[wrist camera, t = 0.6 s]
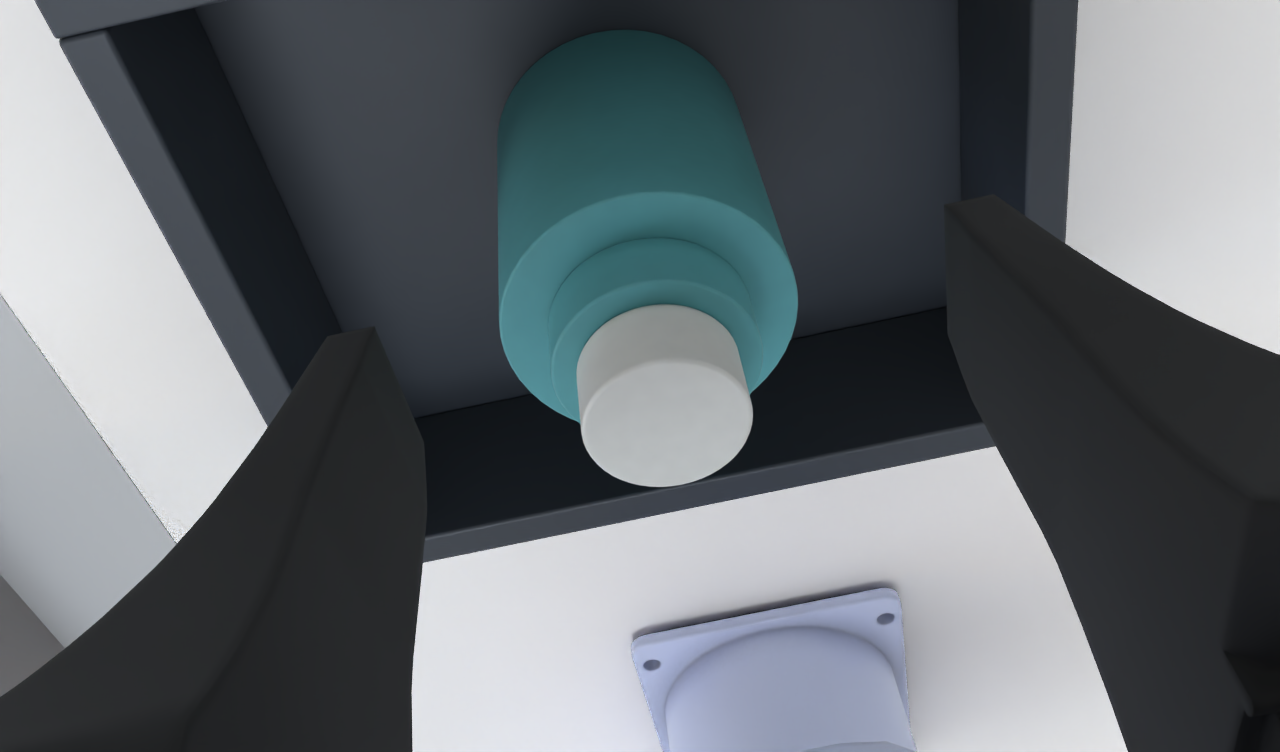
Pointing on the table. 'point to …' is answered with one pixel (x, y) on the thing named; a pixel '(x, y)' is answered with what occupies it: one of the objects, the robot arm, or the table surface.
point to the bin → (468, 211)
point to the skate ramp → (59, 514)
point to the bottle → (639, 254)
